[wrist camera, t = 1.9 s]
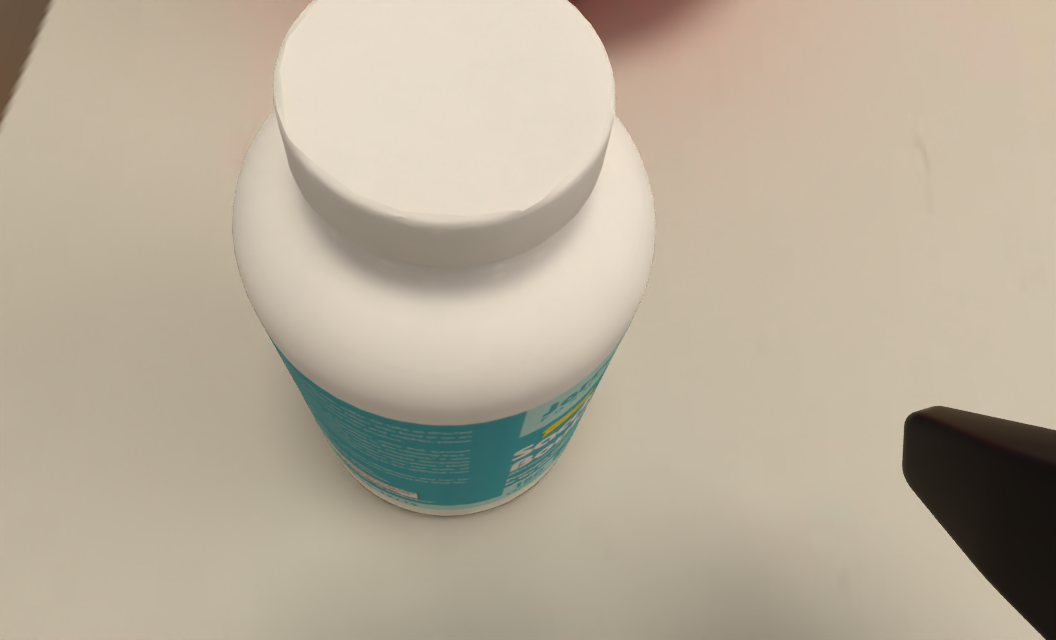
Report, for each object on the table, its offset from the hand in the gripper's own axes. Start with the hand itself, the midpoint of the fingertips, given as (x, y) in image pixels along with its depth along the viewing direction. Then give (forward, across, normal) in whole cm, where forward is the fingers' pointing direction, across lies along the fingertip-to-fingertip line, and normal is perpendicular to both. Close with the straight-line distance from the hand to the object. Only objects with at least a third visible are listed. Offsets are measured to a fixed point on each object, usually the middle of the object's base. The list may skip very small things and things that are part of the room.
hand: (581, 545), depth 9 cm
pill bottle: (+13, 0, +5) cm, 14 cm away
